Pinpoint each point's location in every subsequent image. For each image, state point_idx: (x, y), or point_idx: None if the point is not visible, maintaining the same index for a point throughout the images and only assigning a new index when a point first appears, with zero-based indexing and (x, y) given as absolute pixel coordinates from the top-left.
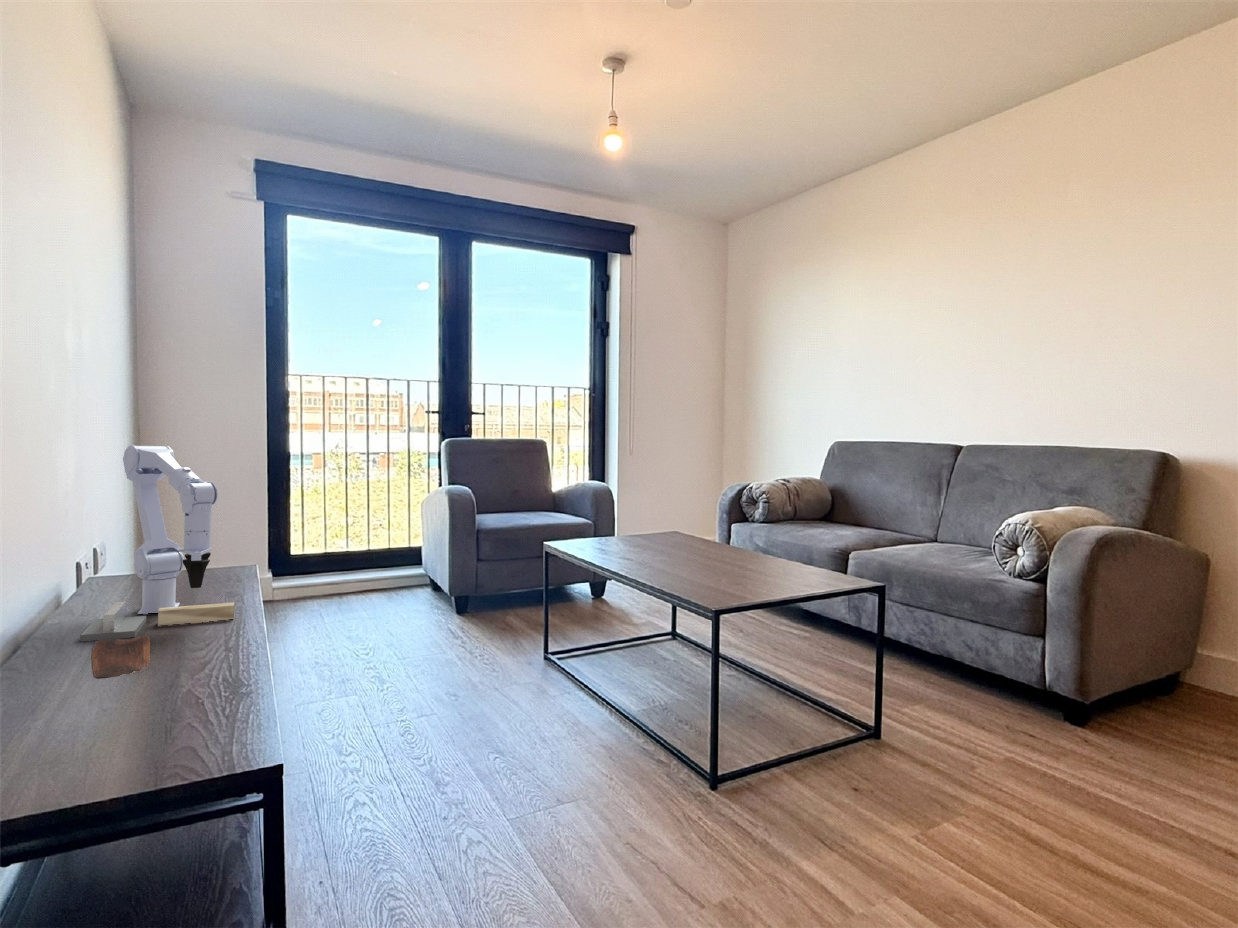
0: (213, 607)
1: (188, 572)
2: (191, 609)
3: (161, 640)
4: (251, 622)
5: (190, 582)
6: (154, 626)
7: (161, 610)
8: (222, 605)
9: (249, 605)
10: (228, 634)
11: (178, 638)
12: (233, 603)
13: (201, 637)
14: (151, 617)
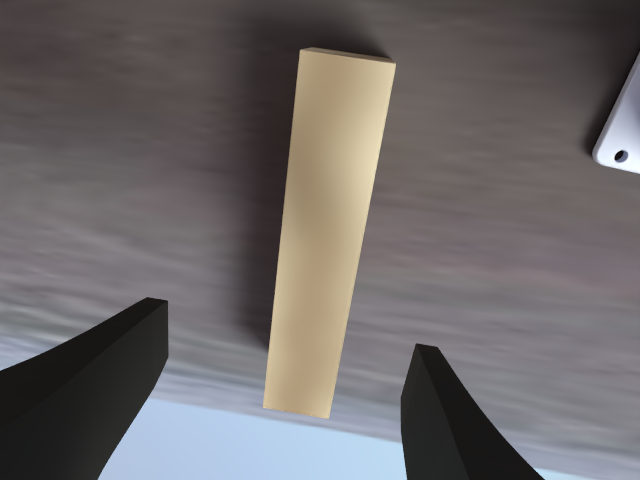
0: (271, 329)
1: (1, 376)
2: (281, 232)
3: (7, 41)
4: (201, 395)
5: (109, 322)
6: (320, 28)
7: (311, 71)
8: (284, 368)
9: None
10: (40, 297)
11: (25, 118)
12: (307, 412)
13: (18, 205)
14: (569, 26)
